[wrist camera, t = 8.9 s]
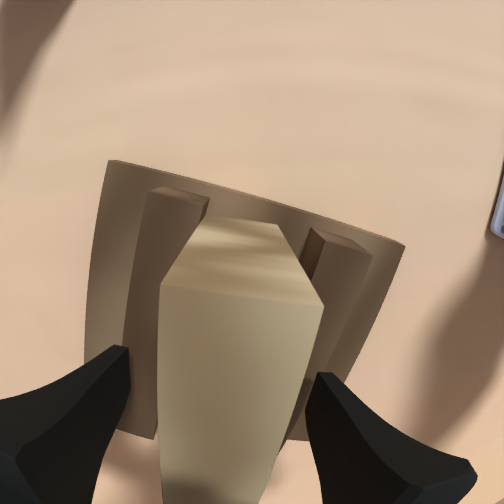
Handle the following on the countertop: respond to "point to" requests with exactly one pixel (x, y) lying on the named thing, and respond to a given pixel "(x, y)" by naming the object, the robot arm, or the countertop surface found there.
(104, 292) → the notched stand
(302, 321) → the beige wooden block
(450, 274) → the countertop surface
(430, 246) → the countertop surface
